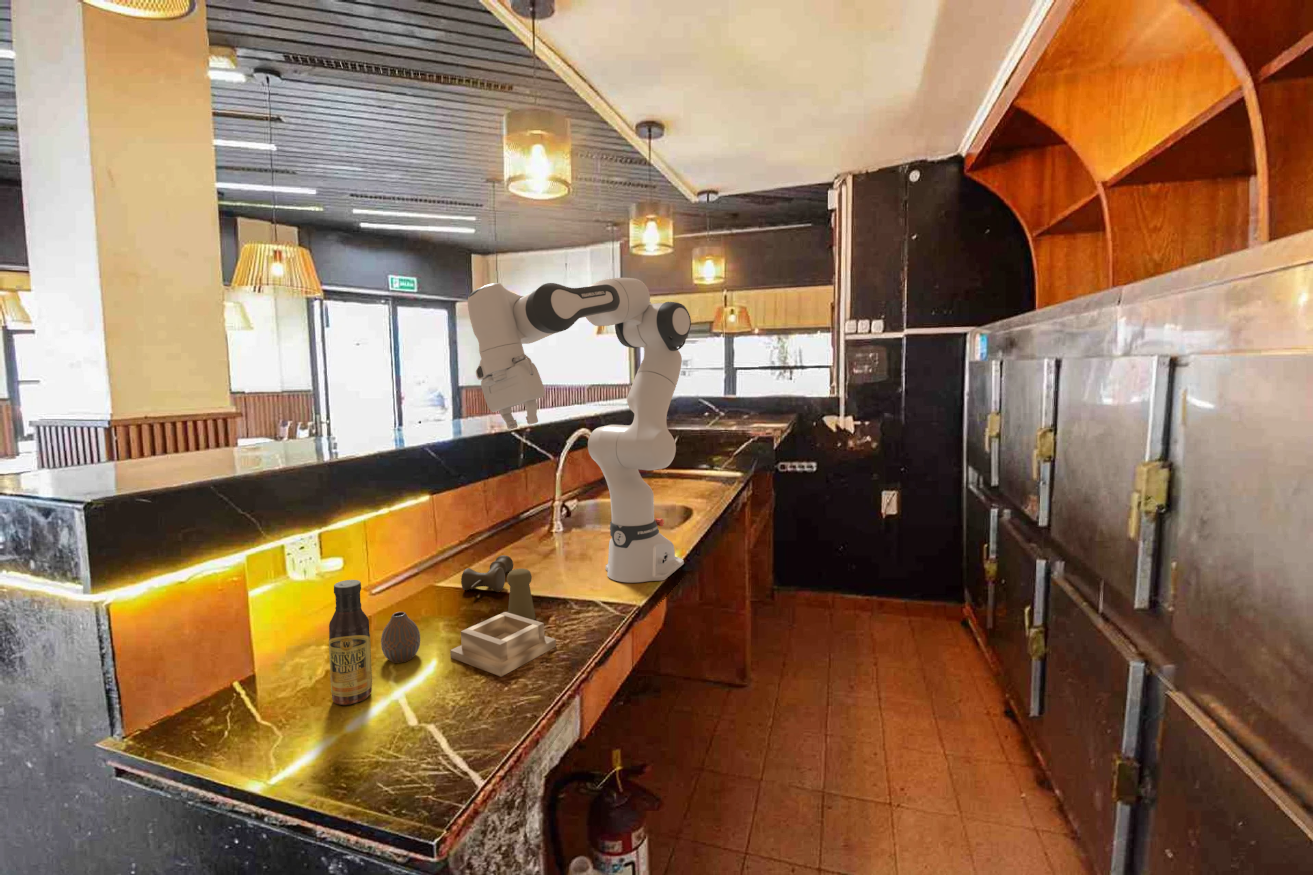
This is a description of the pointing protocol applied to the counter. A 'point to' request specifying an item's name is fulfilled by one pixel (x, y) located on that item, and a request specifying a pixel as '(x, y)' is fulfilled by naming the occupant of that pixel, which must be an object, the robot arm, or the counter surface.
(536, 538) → the counter surface
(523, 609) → the cork
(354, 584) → the sauce bottle
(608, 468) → the robot arm
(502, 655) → the shaker holder
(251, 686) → the counter surface
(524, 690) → the counter surface
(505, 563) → the kendama
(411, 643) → the vase
